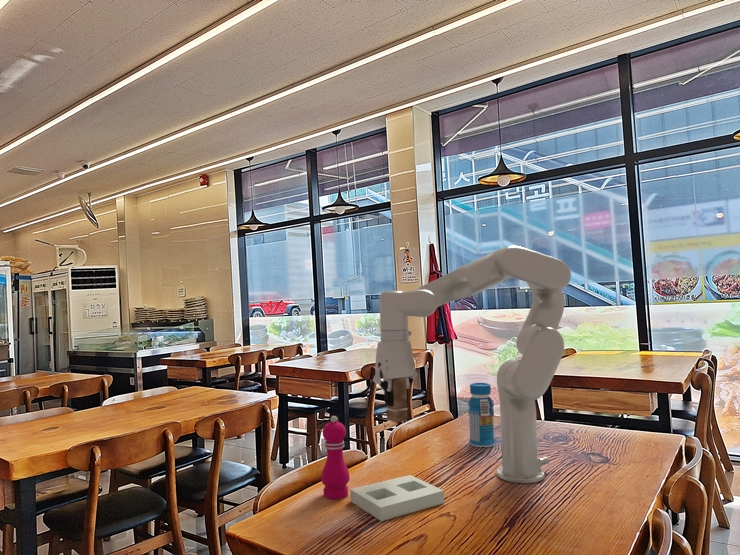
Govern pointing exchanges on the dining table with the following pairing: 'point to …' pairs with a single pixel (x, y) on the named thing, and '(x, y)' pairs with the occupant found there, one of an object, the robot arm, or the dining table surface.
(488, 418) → the beverage bottle
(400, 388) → the peg
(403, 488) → the board
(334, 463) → the pepper mill
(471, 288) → the robot arm
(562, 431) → the dining table surface
